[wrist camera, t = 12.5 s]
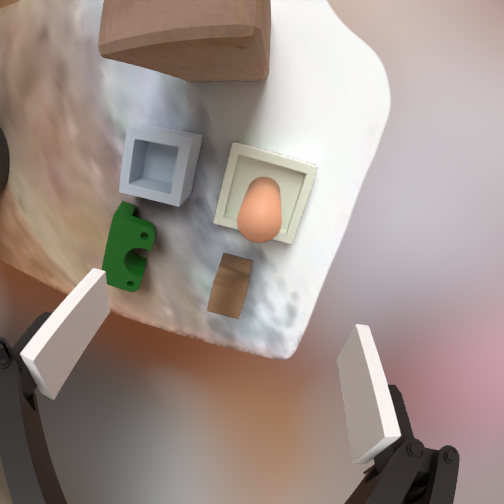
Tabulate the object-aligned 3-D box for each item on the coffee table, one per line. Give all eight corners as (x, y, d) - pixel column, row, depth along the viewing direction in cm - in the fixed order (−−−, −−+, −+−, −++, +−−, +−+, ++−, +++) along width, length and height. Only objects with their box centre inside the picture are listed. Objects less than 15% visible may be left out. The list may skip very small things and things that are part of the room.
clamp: (149, 249, 46) (136, 298, 41) (116, 238, 44) (99, 286, 38) (166, 203, 37) (149, 259, 32) (125, 189, 35) (101, 243, 30)
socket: (136, 181, 36) (118, 192, 32) (145, 124, 32) (127, 126, 28) (190, 194, 36) (179, 206, 32) (203, 134, 33) (192, 138, 28)
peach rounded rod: (244, 203, 35) (232, 236, 27) (251, 172, 34) (242, 195, 25) (275, 211, 36) (275, 247, 27) (284, 181, 34) (287, 207, 25)
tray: (217, 216, 38) (213, 223, 35) (235, 141, 33) (232, 143, 31) (290, 236, 38) (291, 244, 36) (314, 164, 33) (317, 168, 31)
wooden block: (268, 82, 29) (259, 40, 12) (185, 83, 30) (90, 61, 12) (271, 10, 25) (265, -83, 7) (189, 13, 25) (111, -57, 8)
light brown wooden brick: (218, 276, 42) (206, 310, 35) (223, 252, 40) (212, 284, 33) (245, 283, 42) (238, 319, 35) (252, 260, 40) (246, 293, 33)
